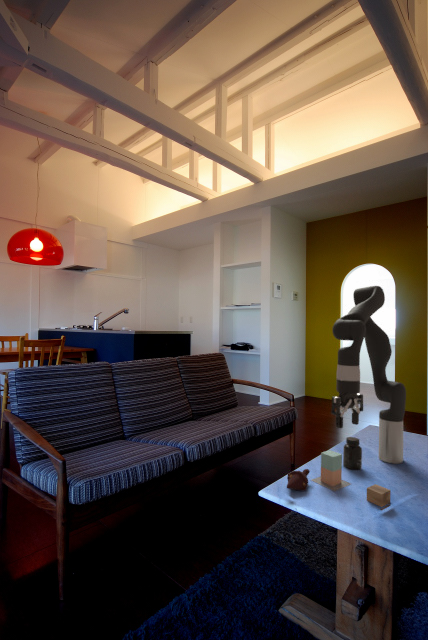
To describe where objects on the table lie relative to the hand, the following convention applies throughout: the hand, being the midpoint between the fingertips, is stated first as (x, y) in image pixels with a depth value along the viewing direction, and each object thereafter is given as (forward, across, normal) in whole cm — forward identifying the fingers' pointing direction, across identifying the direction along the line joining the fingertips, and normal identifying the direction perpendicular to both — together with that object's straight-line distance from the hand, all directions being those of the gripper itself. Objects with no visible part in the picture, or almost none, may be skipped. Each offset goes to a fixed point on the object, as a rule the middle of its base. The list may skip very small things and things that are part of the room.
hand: (347, 425), depth 121 cm
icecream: (+23, +14, -9) cm, 28 cm away
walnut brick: (+22, -1, +11) cm, 25 cm away
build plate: (+22, 0, -6) cm, 23 cm away
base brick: (+21, 0, -6) cm, 22 cm away
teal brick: (+16, 0, -6) cm, 17 cm away
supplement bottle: (+22, -19, -11) cm, 31 cm away
